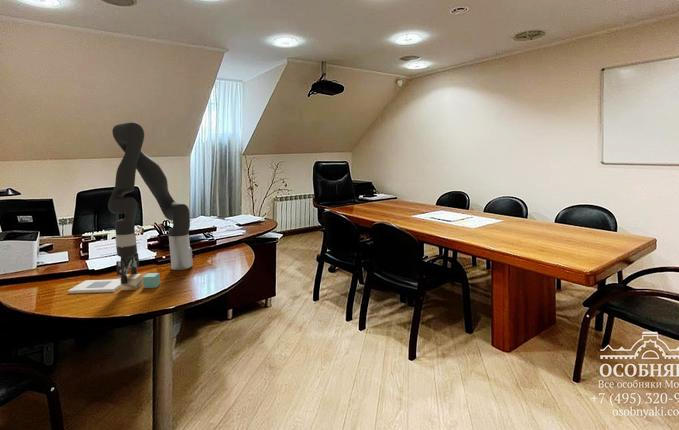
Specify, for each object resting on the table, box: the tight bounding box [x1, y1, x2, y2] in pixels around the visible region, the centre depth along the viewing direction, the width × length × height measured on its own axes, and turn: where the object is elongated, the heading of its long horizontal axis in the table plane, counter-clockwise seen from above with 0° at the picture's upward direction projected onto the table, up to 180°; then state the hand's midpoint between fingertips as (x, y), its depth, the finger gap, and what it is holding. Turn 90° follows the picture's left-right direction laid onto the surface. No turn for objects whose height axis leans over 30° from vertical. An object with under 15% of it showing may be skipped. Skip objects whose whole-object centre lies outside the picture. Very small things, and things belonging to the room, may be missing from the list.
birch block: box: [119, 273, 143, 291], centre depth 157 cm, size 6×6×5 cm
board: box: [67, 278, 121, 294], centre depth 157 cm, size 18×12×1 cm, turn 95°
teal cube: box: [142, 272, 161, 289], centre depth 158 cm, size 5×5×5 cm
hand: (129, 280), depth 156 cm, fingers open, 8 cm apart
